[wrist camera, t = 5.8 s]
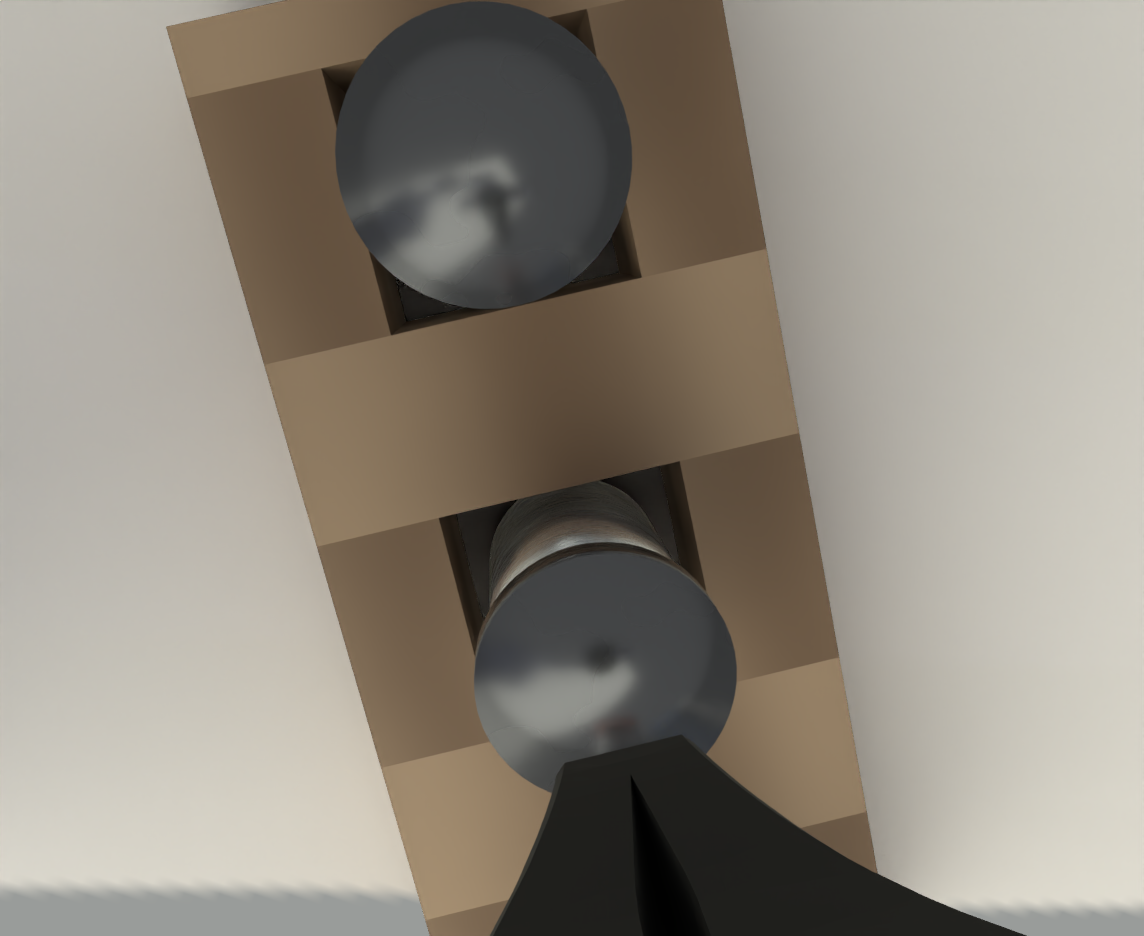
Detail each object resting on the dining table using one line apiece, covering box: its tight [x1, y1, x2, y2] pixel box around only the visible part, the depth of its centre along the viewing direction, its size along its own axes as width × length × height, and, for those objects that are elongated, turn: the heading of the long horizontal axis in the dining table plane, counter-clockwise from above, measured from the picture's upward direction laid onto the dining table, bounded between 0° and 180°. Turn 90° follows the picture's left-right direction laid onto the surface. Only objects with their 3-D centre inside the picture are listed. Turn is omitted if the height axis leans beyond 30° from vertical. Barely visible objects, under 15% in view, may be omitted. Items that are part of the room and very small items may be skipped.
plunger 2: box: [474, 481, 737, 793], centre depth 17 cm, size 4×4×6 cm
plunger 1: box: [335, 1, 632, 309], centre depth 15 cm, size 4×4×6 cm
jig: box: [166, 0, 878, 936], centre depth 19 cm, size 8×20×3 cm, turn 13°
